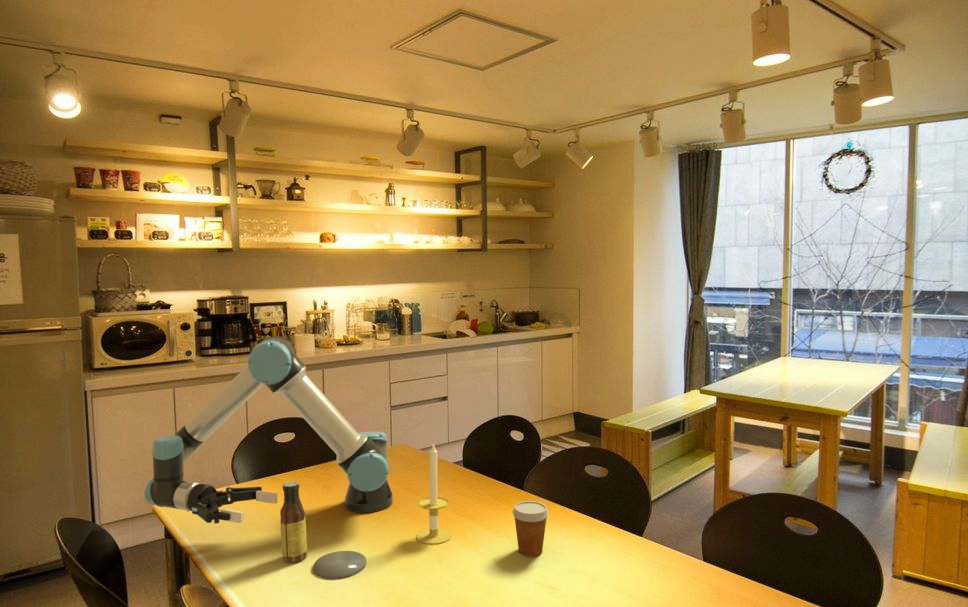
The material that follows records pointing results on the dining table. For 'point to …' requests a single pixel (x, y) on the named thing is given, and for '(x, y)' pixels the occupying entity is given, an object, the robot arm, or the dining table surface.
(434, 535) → the candle
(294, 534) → the sauce bottle
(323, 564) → the disc
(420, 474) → the dining table surface
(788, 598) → the dining table surface
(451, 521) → the dining table surface
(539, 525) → the disposable coffee cup
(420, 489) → the dining table surface
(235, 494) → the robot arm
